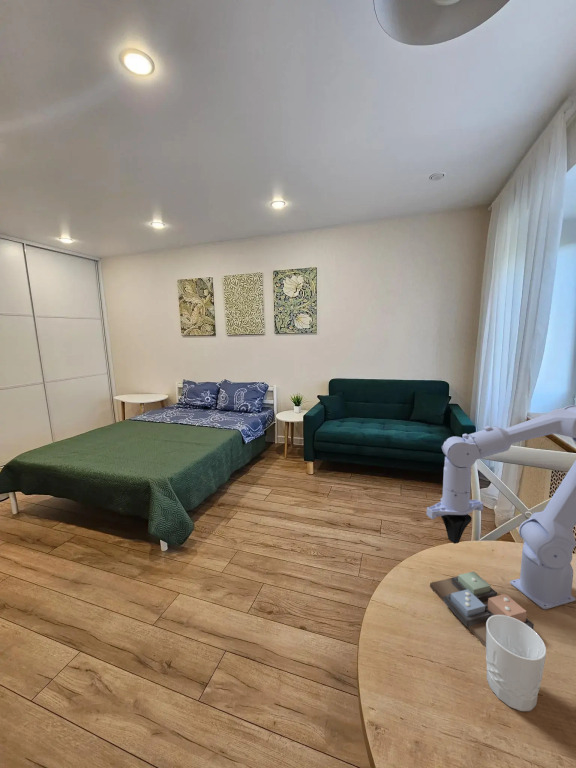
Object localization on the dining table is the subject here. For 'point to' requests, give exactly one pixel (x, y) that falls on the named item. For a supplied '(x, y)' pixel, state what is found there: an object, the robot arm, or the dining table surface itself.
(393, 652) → the dining table surface
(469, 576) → the tile one
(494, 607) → the tile two
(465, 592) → the tile three
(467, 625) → the board
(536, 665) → the white cup
